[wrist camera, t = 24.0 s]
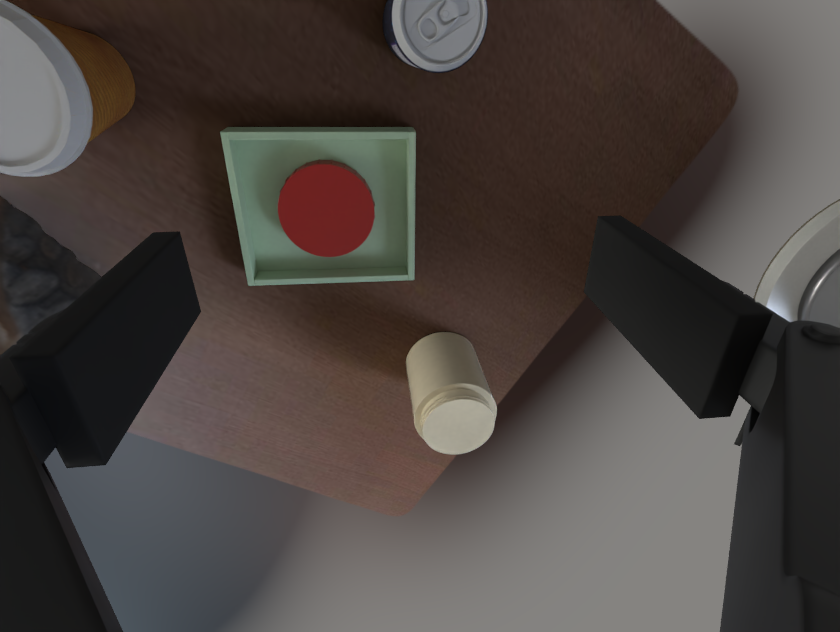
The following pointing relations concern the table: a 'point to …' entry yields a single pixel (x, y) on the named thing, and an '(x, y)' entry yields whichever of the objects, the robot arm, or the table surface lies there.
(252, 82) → the table surface
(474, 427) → the jar
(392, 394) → the table surface
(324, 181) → the jar lid
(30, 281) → the owl
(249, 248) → the tray
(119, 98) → the disposable coffee cup
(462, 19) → the beverage can
